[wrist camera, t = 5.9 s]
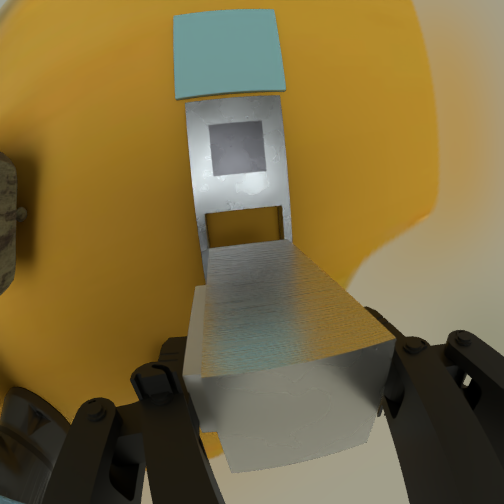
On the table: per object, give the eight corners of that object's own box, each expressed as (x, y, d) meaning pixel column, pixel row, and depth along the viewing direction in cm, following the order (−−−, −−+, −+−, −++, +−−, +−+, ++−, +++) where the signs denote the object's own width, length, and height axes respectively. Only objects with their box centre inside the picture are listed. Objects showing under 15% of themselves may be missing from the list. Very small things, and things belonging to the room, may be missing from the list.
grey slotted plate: (213, 313, 27) (212, 323, 25) (187, 108, 22) (185, 102, 20) (290, 303, 28) (295, 312, 26) (275, 101, 22) (280, 95, 20)
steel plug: (219, 318, 17) (231, 473, 6) (209, 248, 16) (200, 377, 5) (290, 308, 17) (366, 442, 7) (287, 238, 16) (395, 337, 6)
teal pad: (176, 100, 21) (175, 98, 21) (174, 18, 19) (173, 16, 18) (284, 91, 22) (286, 89, 22) (272, 12, 19) (273, 9, 19)
